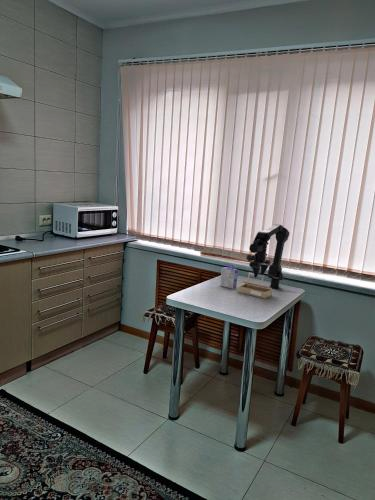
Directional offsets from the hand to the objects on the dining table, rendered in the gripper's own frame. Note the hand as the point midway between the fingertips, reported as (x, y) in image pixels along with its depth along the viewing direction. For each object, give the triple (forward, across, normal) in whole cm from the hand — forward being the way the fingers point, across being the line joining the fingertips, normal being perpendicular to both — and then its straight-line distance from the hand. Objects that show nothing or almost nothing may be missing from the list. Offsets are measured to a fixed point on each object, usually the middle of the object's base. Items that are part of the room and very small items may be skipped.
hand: (258, 276), depth 240 cm
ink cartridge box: (+11, +1, -20) cm, 23 cm away
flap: (+5, +3, 0) cm, 6 cm away
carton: (+11, +3, 0) cm, 11 cm away
